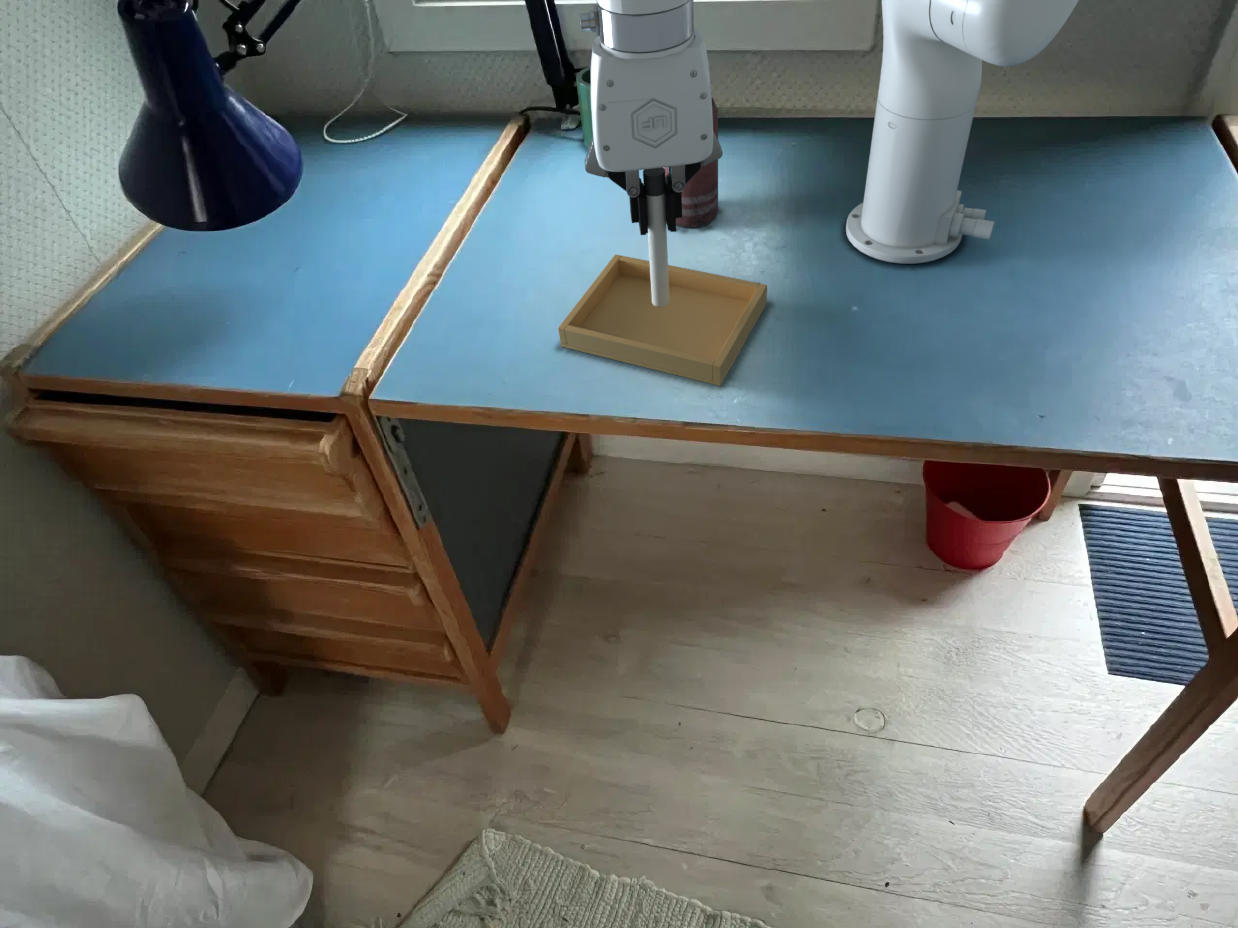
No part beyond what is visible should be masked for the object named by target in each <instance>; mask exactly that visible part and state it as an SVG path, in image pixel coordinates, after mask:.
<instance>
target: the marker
mask: <svg viewBox="0 0 1238 928" xmlns="http://www.w3.org/2000/svg"><path fill="white" fill-rule="evenodd" d="M642 180H643V181H642V183H643V184H644V191H645V195H646V203H647V220H648V233H647V244H648V245H647V246H648V261H649V262H650V279H651V295H652V304H653V305H654V306H657V307H664V306H666V305H668V304H669V301H670V300H669V276H668V265H669V255H668V234H667V233H668V232H667V230H668V228H667V222H666V206H665V191H666V180H665V168H664V167H661V168H653V169H644V170H642Z"/></svg>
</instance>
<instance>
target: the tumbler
mask: <svg viewBox="0 0 1238 928" xmlns="http://www.w3.org/2000/svg"><path fill="white" fill-rule="evenodd" d="M575 80H576V89H577V96H578V106H579V113H580V121H581V130H582V139H583V143H584V146H585V148H586V149H588V148H589V145H590V142H591V139H592V136H593V126H592V111H591V65H590V66H588V67H585V68H583V69H581V70H580V71H579V72H578V73H577V74H576V79H575Z"/></svg>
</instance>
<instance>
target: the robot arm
mask: <svg viewBox="0 0 1238 928" xmlns="http://www.w3.org/2000/svg"><path fill="white" fill-rule="evenodd" d="M1079 1H1080V0H881V14H882V33H883V34H882V35H883V40H882V41H883V43H882V44H883V46H882V57H881V69H880V77H879V85H878V93H877V98H876V107H875V113H874V120H873V128H872V136H871V142H870V151H869V158H868V164H867V173H866V179H865V187H864V194H863V202H861V203H860V204H858V205H857V206H855V207H854V208H853V209H852V210H851V212H850V213H849V214H848V216H847V219H846V223H845V232H846V234H845V235H846V237H847V240H848V241H849V242H850V243H851V244H852V246H853V247H854V248H856V249H857V250H858V251H859V252H860V253H862V254H864V255H867V256H868V257H870V258H873V259H876V260H878V261H883V262H887V263H893V264H901V265H915V264H924V263H929V262H934V261H936V260H939V259H941V258H944V257H946V256H948V255H949V254H951V253H952V252H953V251H954V250H956V249H957V248H958V246H959V245H960V243H961V240H962V237H963V235H964V236H969V237H972V238H976V239H977V238H978V239H982V240H988V241H990V239H991V237H992V233H993V230H994V226H995V221H993V220H988V219H985V217H986V214H987V209H982V208H977V207H976V208H971V207H966V206H965V204H962V203H960V202H961V198H962V192H963V191H962V190H958V188H959V182H960V178H961V174H962V171H963V170H962V169H963V165H964V160H965V156H966V152H967V147H968V142H969V137H970V133H971V128H972V124H973V120H974V115H975V110H976V106H977V103H978V99H979V94H980V90H981V84H982V74H983V61H984V62H986V63H988V64H991V65H995V66H997V67H1014V66H1019V65H1022V64H1024V63H1027V62H1028V61H1030V60H1032V59H1033V58H1035V57H1036V56H1038V55H1039V54H1040V53H1041V52H1042V51H1043V50H1045V48H1047V47H1048V45H1049V44H1050V43H1051V42H1052V41H1053V40H1054V38H1055V37H1056V36H1057V35H1058V33H1059V32H1060V30H1062V28H1063V27H1064V25H1065V23H1066V22H1067V21H1068V19H1069V17H1070V16H1071V14H1072V12H1073V11H1074V9H1075V7H1076V6H1077V4H1078V3H1079ZM694 4H695V3H694V0H596V4H595V5H592V7H593V9H589V10H588V11H587V12H580V13H579V21H580V22H579V23H580V30H581V32H582V33H583V32H590V33H591V34H592V33H595V36H596V37H595V39H594V40H593V42H592V49H591V59H590V66H591V111H592V126H593V136H592V139H591V142H590V145H589V148H587V152H586V156H585V158H584V168H585V172H586V173H587V174H590V175H594V176H597V177H600V178H608V179H609V180H610V181H612V182H613V183H614V184H615V185H617V186H618V187H620V188H621V189H622V190H624V191H625V192H626V195H627V196H628V197H629V199H628V200H629V212H630V220H631V224H638V226H639V227H638V228H639V233H640V236H646V235H647V234H648V220H647V203H646V195H645V191H644V182H643V181H642V178H641V177H640V171H643V170H644V169H653V168H661V167H663V168H664V167H668V170H669V173H668V174H667V175H666V177H665V180H666V191H665V206H666V228H667V230H668V232H669V231H670V233H673V232H677V226H676V218H682V191H683V190H684V189H685V186H686V185H685V184H686V183H687V182H688V181H689V180H690V179H691V178H692V177H693V176H694V175H695V174H696V173H697V172H698V171H699V169H700V168H701V167H702V166H706V165H708V164H710V163H712V162H714V161H716V160H718V161H719V160H720V159H721V158H722V157H723V153H724V152H723V148H722V145H721V144H720V141H719V138H718V139H717V137H716V135H715V132H714V130H713V115H712V98H713V97H712V85H711V74H710V73H711V72H710V65H709V59H708V51H707V46H706V42H705V37H704V36H703V34H702V33H701V31H700V30H699V29H698V28H697V27H695V20H694V19H695V18H694V17H695V16H694V13H695V11H694V10H695V9H694V7H695V6H694Z"/></svg>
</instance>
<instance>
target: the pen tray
mask: <svg viewBox="0 0 1238 928" xmlns="http://www.w3.org/2000/svg"><path fill="white" fill-rule="evenodd" d="M668 276H669V300H670V301H669V304H668V305H666V306H664V307H657V306H654V305H653V304H652V295H651V279H650V262H649V260H646V259H641V258H635V257H631V256H626V255H621V254H616V253H615V254H614V255H613V256H612V258H611V259H610V260H609V261H608V263H607V264H606V265H605V266H604V267H603V269H602V270H601V272H600V273H599V275H598V276H597V277H595V280H594V281H593V282H592V283H591V285H590V286H589V287H588V288H587V290H586V291H585V293H584V294H583V295H582V296H581V297H580V299H579V300H578V301H577V302H576V304H575V305H574V306H573V308H572V309H571V311H569V313H567V316H566V317H565V318H564V319H563V320H562V322H561V323H560V324H559V325H558V327H557V330H558V336H559V342H560V347H561V348H565V349H569V350H573V351H577V352H580V353H581V352H582V353H586V354H589V355H594V356H597V357H601V358H606V359H610V360H614V361H618V362H622V363H626V364H630V365H634V366H637V367H641V368H646V369H650V370H654V371H658V372H661V373H666V374H670V375H674V376H677V377H682V378H686V379H690V380H695V381H699V382H702V383H706V384H711V385H715V386H719V387H721V386H722V384H723V382H724V381H725V379H726V377H727V375H728V373H729V371H730V370H731V369H732V366H733V365H734V363H735V361H736V360H737V357H738V356H739V353H740V352H741V350H742V349H743V346H744V345H745V343H746V342H747V339H748V338H749V336H750V334H751V332H752V331H753V329H754V327H755V325H756V324H757V322H758V320H759V318H760V317H761V314H762V312H763V311H764V309H765V307H766V305H767V299H768V284H765V283H760V282H755V281H751V280H745V279H741V278H735V277H731V276H726V275H720V274H717V273H716V274H715V273H710V272H705V271H700V270H697V269H692V268H686V267H681V266H675V265H672V264H671V265H670V264H668Z"/></svg>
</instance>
